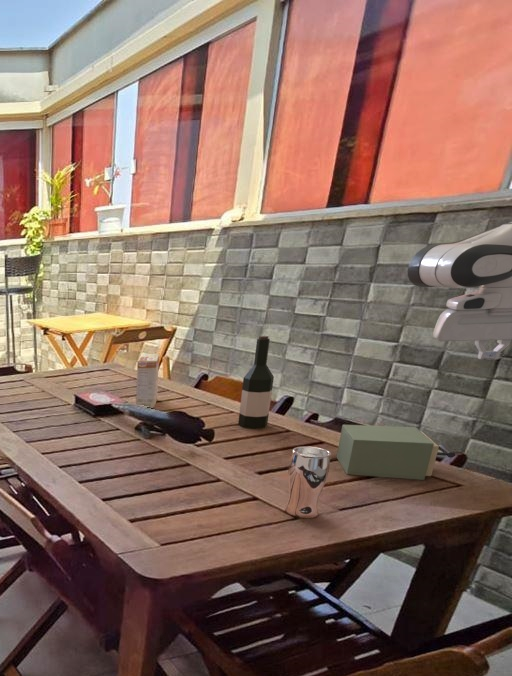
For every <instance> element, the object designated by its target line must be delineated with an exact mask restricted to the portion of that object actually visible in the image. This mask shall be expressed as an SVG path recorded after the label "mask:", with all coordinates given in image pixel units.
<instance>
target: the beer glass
mask: <svg viewBox="0 0 512 676" xmlns="http://www.w3.org/2000/svg"><path fill="white" fill-rule="evenodd" d="M331 455H332V453H331V452H330V450H328V449H325V448H321V447H318V446H309V445H307V446H304V445H303V446H297V447H294V448H292V453H291V455H290V460H289V465H288V471H287V473H288V475H287V478H288V479H287V480H288V499H287V502H286V504H285V506H284V511H285V513H287V514H288V515H290V516H293V517H295V518H301V519H313V518H316V517H318V515H319V506H318V503H319V498H320V496H321V494H322V492H323V490H324V488H325V485H326V483H327V480H328V476H329V473H330V465H331Z"/></svg>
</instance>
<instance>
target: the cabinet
mask: <svg viewBox="0 0 512 676" xmlns="http://www.w3.org/2000/svg"><path fill="white" fill-rule="evenodd" d="M341 425H342V426H341V431H340V436H339V442H338V446H337V452H336V457H335V458H336V459H337V460H338V462H339V464H340V465H341V467H342V469H343V470H344V472H345V474H346V475H350V476H362V477H363V476H364V477H365V476H366V477H379V478H392V479H404V480H406V479H407V480H416V481H417V480H418V481H425V479H426V477H427V476H426V472H427V468H428V464H429V460H430V457H431V453H432V449H433V445H434V443H433V442H434V441H433V440H432V439H431V440H432V441H433V442H432V441H431V440H429V439H428V438H427V437H426V436H425V435H426V434H425V433H424V432H423V431H422V432H423V433H424V434H425V435H424V434H423V433H422V432H420V431H421V430H420V429H418V428H417V427H415V426H392V425H367V424H365V425H364V424H362V425H360V424H341Z"/></svg>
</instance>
